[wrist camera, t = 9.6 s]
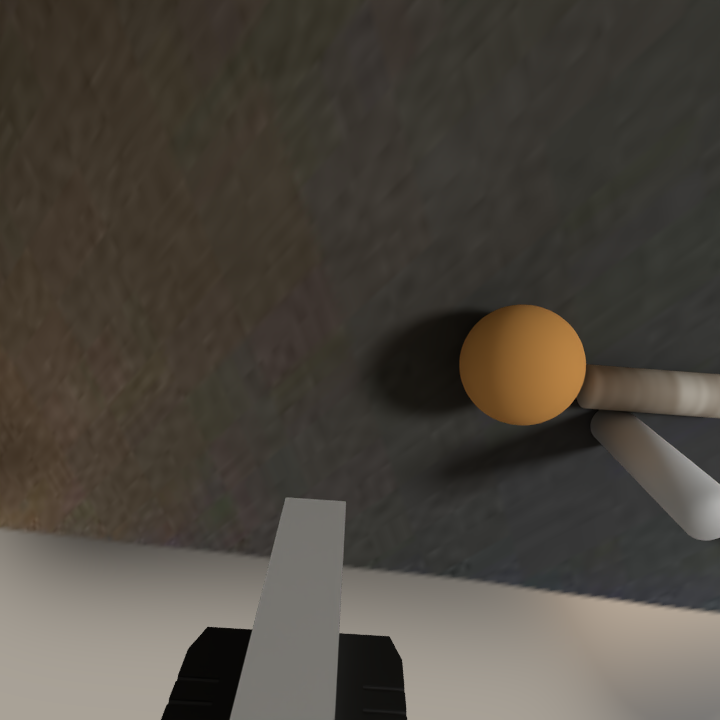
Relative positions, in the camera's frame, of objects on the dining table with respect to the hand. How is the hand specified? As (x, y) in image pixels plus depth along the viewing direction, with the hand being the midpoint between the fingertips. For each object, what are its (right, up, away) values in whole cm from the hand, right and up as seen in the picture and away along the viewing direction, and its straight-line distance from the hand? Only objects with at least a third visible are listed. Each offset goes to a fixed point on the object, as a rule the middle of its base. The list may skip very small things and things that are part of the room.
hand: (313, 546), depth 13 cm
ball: (+9, +4, +13) cm, 16 cm away
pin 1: (+13, +3, +15) cm, 20 cm away
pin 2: (+16, +1, +17) cm, 23 cm away
